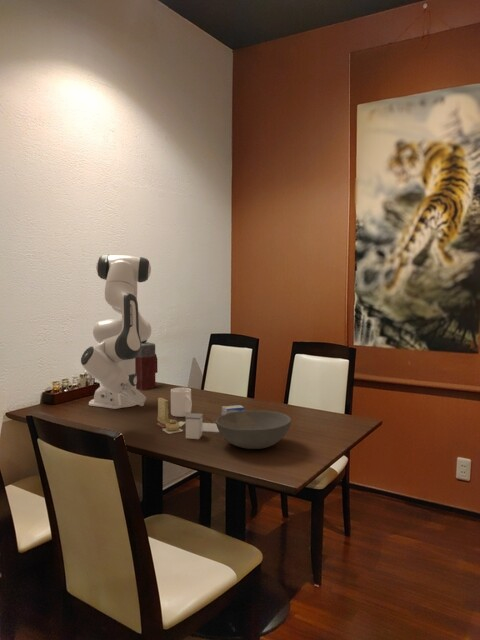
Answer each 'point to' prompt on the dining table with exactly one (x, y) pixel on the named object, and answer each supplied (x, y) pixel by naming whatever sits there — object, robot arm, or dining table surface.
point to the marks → (171, 431)
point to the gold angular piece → (166, 416)
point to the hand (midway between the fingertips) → (142, 404)
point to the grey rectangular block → (193, 425)
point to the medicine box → (232, 409)
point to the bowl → (253, 428)
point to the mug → (181, 402)
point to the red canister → (146, 366)
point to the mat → (209, 427)
